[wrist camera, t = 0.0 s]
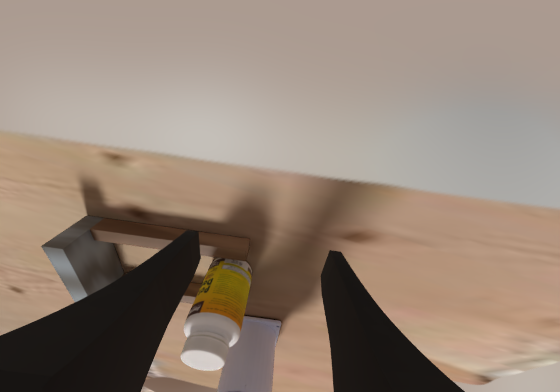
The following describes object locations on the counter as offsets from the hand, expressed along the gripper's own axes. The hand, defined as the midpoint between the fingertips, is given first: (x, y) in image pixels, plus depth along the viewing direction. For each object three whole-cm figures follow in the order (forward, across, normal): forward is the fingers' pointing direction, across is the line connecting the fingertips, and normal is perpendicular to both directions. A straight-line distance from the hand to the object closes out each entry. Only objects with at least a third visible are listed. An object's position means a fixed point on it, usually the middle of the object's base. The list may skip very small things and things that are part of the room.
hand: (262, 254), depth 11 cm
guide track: (+10, +10, +14) cm, 20 cm away
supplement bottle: (+10, +4, +14) cm, 18 cm away
